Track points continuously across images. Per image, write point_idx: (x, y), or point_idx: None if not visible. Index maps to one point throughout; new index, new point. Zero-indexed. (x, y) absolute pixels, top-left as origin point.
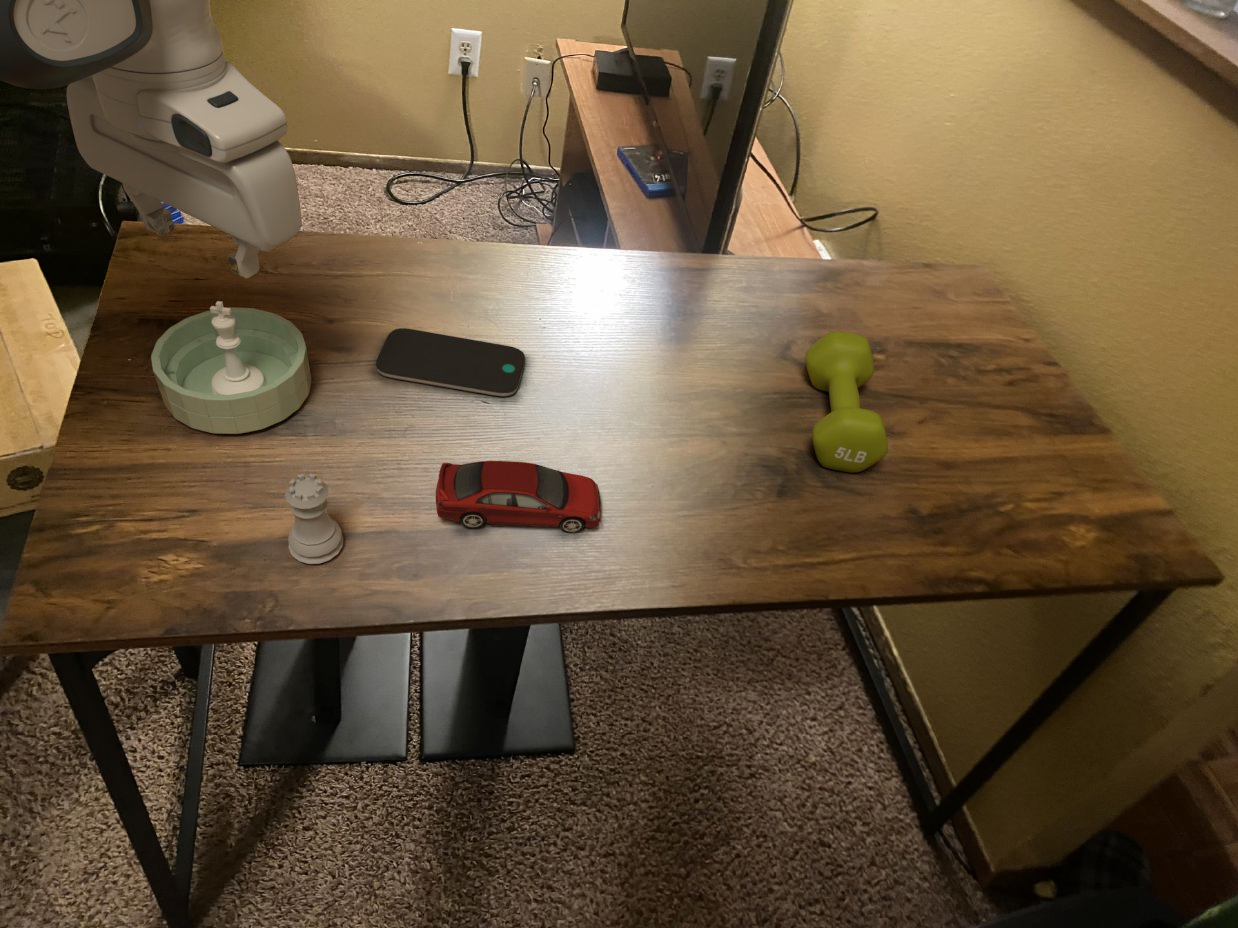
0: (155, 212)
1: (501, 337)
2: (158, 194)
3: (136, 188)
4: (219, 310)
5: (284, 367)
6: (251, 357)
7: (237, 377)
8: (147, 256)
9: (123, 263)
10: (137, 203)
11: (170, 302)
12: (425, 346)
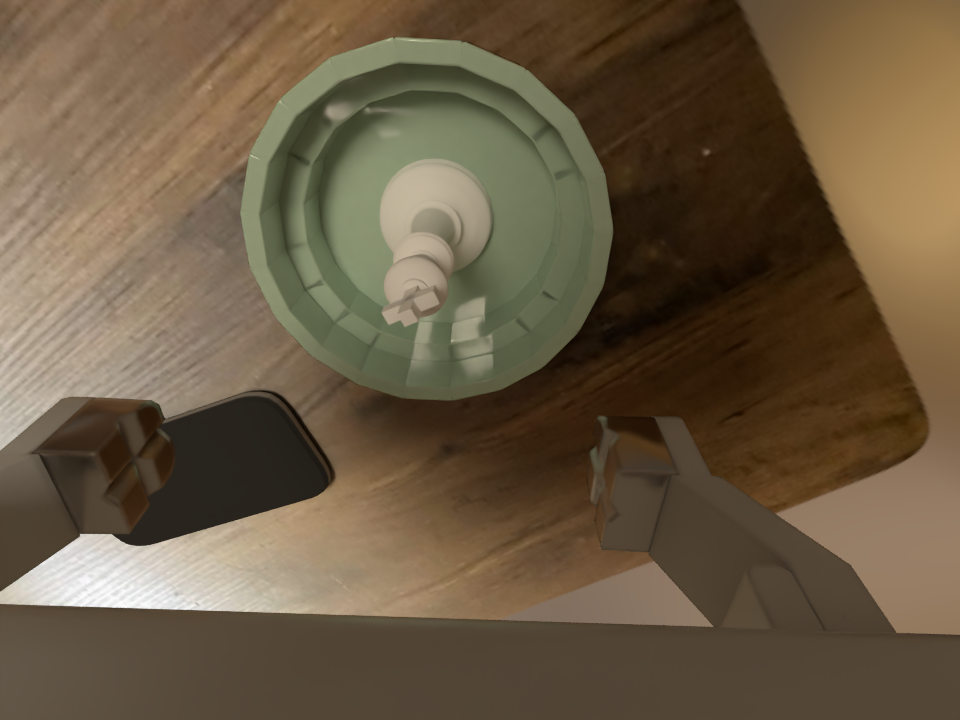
0: (652, 512)
1: (203, 551)
2: (400, 691)
3: (687, 644)
4: (407, 301)
5: None
6: (480, 297)
7: (414, 216)
8: (870, 413)
9: (904, 375)
10: (735, 519)
11: (744, 338)
12: (250, 480)
